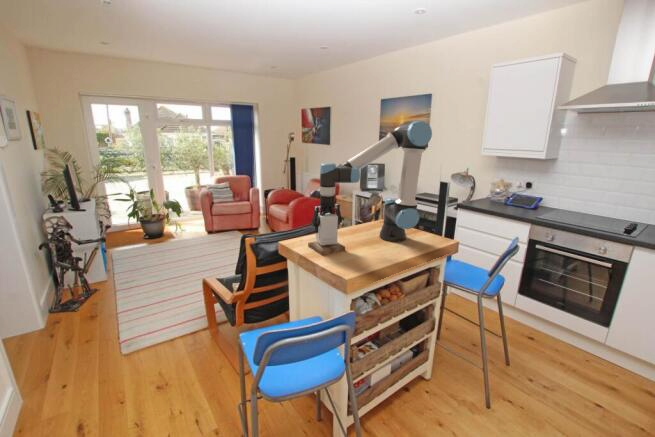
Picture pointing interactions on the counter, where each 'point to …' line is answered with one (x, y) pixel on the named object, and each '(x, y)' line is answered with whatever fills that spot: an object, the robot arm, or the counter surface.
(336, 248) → the walnut stand
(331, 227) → the supplement box
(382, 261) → the counter surface
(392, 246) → the counter surface
